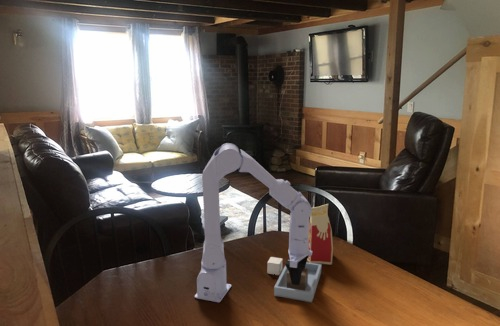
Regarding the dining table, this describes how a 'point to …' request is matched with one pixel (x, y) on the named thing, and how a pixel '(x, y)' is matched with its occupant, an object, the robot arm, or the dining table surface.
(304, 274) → the walnut block
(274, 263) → the cream box
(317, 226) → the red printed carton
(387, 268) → the dining table surface
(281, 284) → the tote
